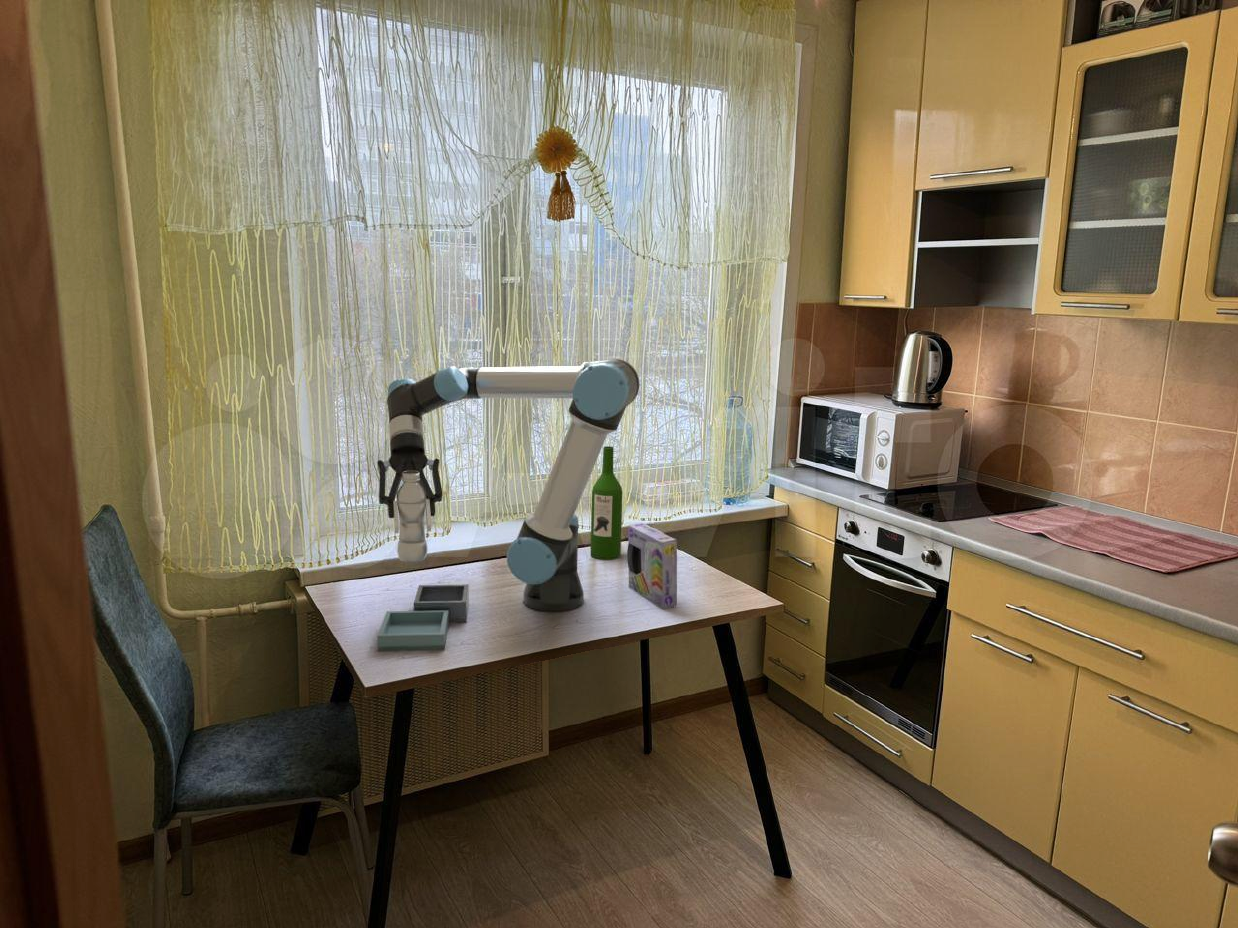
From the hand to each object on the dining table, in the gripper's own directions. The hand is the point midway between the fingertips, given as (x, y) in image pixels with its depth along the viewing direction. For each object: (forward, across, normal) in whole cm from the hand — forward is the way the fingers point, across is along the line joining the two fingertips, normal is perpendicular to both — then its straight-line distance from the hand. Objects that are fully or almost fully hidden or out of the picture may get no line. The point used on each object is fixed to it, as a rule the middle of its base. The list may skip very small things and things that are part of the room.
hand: (413, 529), depth 184 cm
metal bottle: (+4, 0, -9) cm, 9 cm away
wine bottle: (-17, -58, -55) cm, 82 cm away
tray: (+16, 0, -21) cm, 26 cm away
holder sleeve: (+7, -7, -30) cm, 32 cm away
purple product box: (+7, -60, -30) cm, 68 cm away
